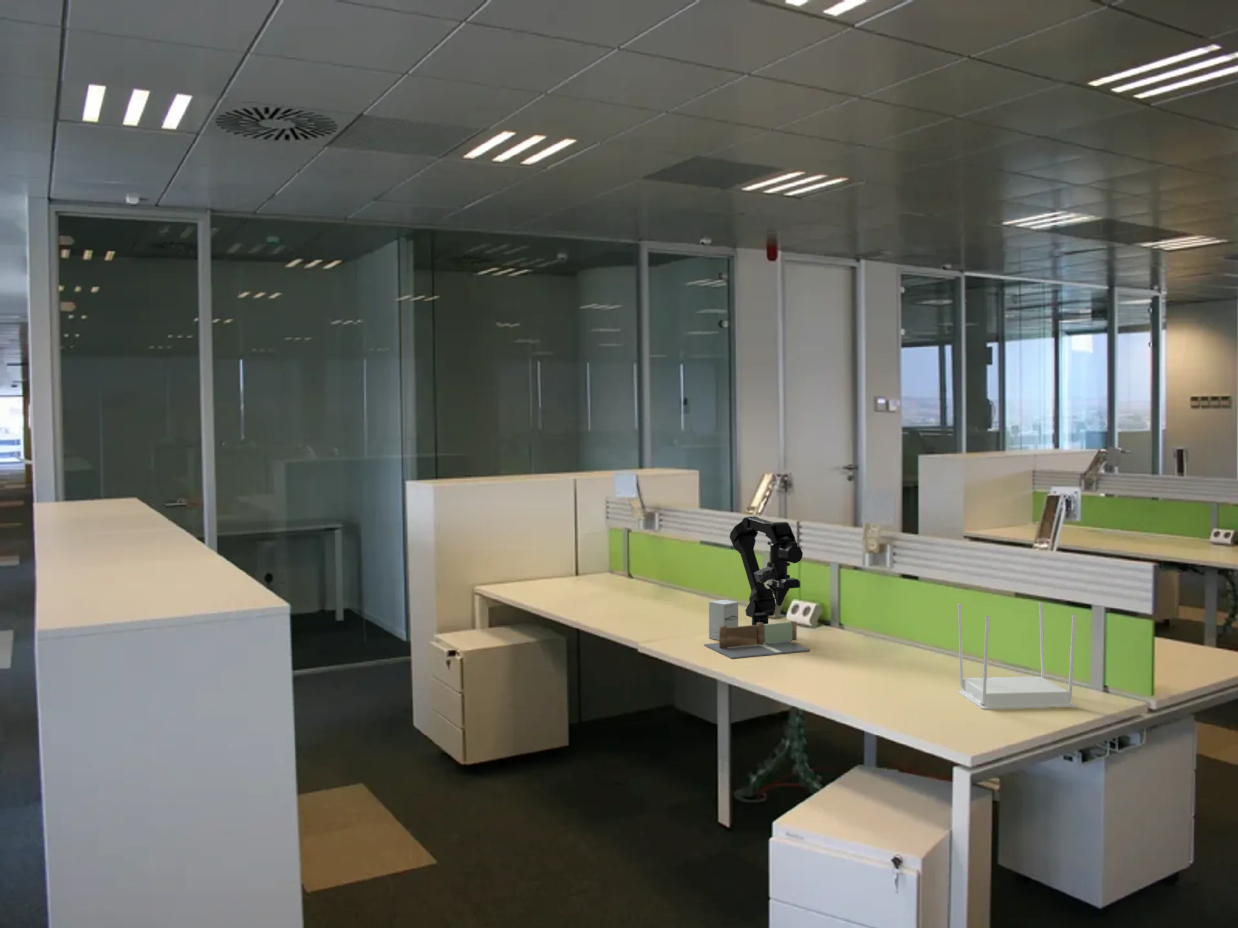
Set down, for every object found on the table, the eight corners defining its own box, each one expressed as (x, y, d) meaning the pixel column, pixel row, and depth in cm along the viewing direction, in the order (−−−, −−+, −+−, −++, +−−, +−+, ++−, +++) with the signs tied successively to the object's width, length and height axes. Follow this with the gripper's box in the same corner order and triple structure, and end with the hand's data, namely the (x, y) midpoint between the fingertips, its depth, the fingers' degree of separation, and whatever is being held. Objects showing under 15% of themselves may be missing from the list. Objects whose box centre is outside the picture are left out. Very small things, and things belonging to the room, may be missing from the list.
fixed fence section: (718, 647, 334) (718, 625, 334) (761, 643, 340) (761, 622, 340) (721, 648, 332) (721, 627, 332) (765, 644, 338) (765, 623, 337)
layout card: (704, 645, 339) (704, 643, 339) (779, 638, 349) (779, 636, 349) (731, 658, 320) (731, 656, 320) (809, 651, 330) (809, 649, 330)
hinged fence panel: (762, 641, 340) (762, 623, 340) (794, 638, 344) (794, 621, 344) (765, 643, 338) (765, 625, 338) (797, 640, 342) (797, 622, 342)
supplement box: (723, 641, 345) (723, 604, 345) (708, 638, 351) (708, 601, 350) (739, 638, 350) (739, 601, 349) (723, 634, 356) (723, 598, 355)
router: (1077, 708, 264) (1078, 615, 263) (982, 710, 262) (983, 617, 261) (1042, 688, 283) (1043, 601, 282) (953, 690, 282) (954, 603, 281)
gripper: (744, 557, 351) (744, 602, 351) (771, 564, 333) (771, 612, 334) (773, 555, 355) (773, 600, 355) (801, 562, 337) (801, 609, 338)
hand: (778, 605), depth 345 cm, fingers closed
